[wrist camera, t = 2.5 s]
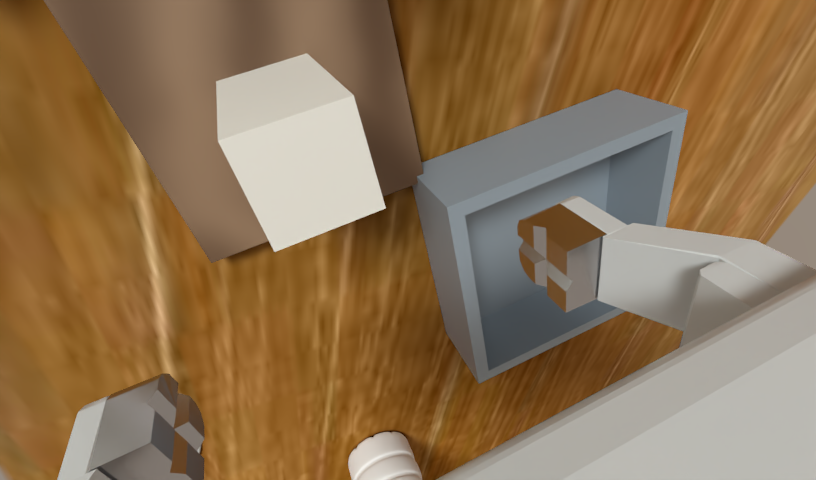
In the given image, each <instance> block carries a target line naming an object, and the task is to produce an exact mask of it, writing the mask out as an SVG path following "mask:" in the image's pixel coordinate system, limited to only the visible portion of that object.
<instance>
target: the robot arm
mask: <svg viewBox="0 0 816 480" xmlns="http://www.w3.org/2000/svg"><path fill="white" fill-rule="evenodd" d="M517 231H518V236H520V237H521V238H522V239H523V242H522V244H521V246H520V248H519V257H520V262H521V264H522V267H523V269H524V271H525V273H526V274H527V276H528V277H529V278H530V279H531V280H532V281H533V282H534V283H535V284H537V285H541V286H545V287H547V296H549V297H550V298H551V299H552V300H553V301H554V302H555V303H556V304H557V305H558V306H559V307H560V308H561V309H562V310H563V311H565V312H566V313H567V312H569V311H571V310H573V309H575V308H578V307H580V306H582V305H584V304H586V303H589V302H591V301H593V300H595V299H597V298H598V301H601V302H603V303H606V304H609V305H612V306H615V307H617V308H620V309H623V310H626V311H628V312H631V313H634V314H637V315H639V316H642V317H645V318H648V319H651V320H653V321H656V322H659V323H662V324H664V325H667V326H670V327H673V328H675V329H678V330H681V331H683V335H682V339H681V343H680V346H679V348H678V349H676V350H674V351H673V352H671V353H669V354H667V355H665V356H663V357H661V358H660V359H658V360H656V361H654V362H652V363H650V364H649V365H647V366H645V367H643V368H641V369H639V370H637V371H636V372H634V373H632V374H630V375H628V376H626V377H624V378H623V379H621V380H619V381H617V382H615V383H613V384H612V385H610V386H608V387H606V388H604V389H602V390H600V391H599V392H597V393H595V394H593V395H591V396H589V397H587V398H586V399H584V400H582V401H580V402H578V403H576V404H575V405H573V406H571V407H569V408H567V409H565V410H563V411H562V412H560V413H558V414H556V415H554V416H552V417H550V418H549V419H547V420H545V421H543V422H541V423H539V424H537V425H536V426H534V427H532V428H530V429H528V430H526V431H525V432H523V433H521V434H519V435H517V436H515V437H513V438H512V439H510V440H508V441H506V442H504V443H502V444H500V445H499V446H497V447H495V448H493V449H491V450H489V451H488V452H486V453H484V454H482V455H480V456H478V457H476V458H475V459H473V460H471V461H469V462H467V463H465V464H464V465H462V466H460V467H458V468H456V469H454V470H452V471H451V472H449V473H447V474H445V475H443V476H441V477H440V478H438V479H436V480H816V270H815V269H813V268H811V267H809V266H807V265H805V264H803V263H801V262H799V261H797V260H795V259H792V258H791V257H789V256H787V255H784V254H782V253H780V252H778V251H776V250H774V249H772V248H770V247H768V246H766V245H764V244H762V243H760V242H758V241H756V240H750V239H743V238H736V237H729V236H722V235H715V234H708V233H701V232H694V231H687V230H680V229H673V228H666V227H659V226H652V225H645V224H638V223H632V224H630V225H626V224H625V223H623V222H621V221H620V220H618V219H616V218H615V217H613V216H611V215H610V214H608V213H606V212H605V211H603V210H601V209H600V208H598V207H596V206H595V205H593V204H591V203H590V202H588V201H586V200H584V199H583V198H581V197H579V196H572V197H570V198H567V199H565V200H563V201H561V202H559V203H556V204H555V205H553V206H551V207H548V208H546V209H544V210H541V211H539V212H537V213H535V214H532V215H530V216H528V217H526V218H523V219H521V220H519V222H518V225H517ZM203 440H204V423H203V419H202V415H201V412H200V410H199V408H198V406H197V405H196V403H195V402H194V401H193V399H192V398H191V397H190V396H187V395H183V394H178V383H177V382H176V381H175V380H174V379H173V378H172V377H171V376H170V374H160V375H158V376H155V377H153V378H150V379H148V380H145V381H143V382H140V383H138V384H136V385H133V386H131V387H128V388H126V389H123V390H121V391H118V392H116V393H113V394H111V395H110V396H107V397H105V398H102V399H100V400H97V401H95V402H92V403H90V404H88V405H85V406H84V407H83V408H82V409H81V410H80V411H79V412H78V414H77V417H76V420H75V423H74V427H73V430H72V433H71V437H70V440H69V443H68V446H67V450H66V453H65V456H64V459H63V463H62V466H61V469H60V473H59V476H58V479H57V480H204V458H203V457H202V456H201V455H200V454H199V453H198V452H197V451H198V449H199V447H200V445H201V444H202V442H203Z"/></svg>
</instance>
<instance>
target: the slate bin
mask: <svg viewBox="0 0 816 480" xmlns="http://www.w3.org/2000/svg"><path fill="white" fill-rule="evenodd" d="M687 113H688V110H685V109H682V108H678V107H675V106H671V105H668V104H665V103H661V102H658V101H655V100H651V99H648V98H645V97H641V96H638V95H635V94H631V93H628V92H625V91H621V90H618V89H616V90H613V91H611V92H608V93H605V94H603V95H600V96H597V97H595V98H592V99H590V100H587V101H584V102H582V103H579V104H576V105H574V106H571V107H568V108H566V109H563V110H560V111H558V112H555V113H552V114H550V115H547V116H544V117H542V118H539V119H537V120H534V121H531V122H529V123H526V124H523V125H521V126H518V127H515V128H513V129H510V130H507V131H505V132H502V133H499V134H497V135H494V136H491V137H489V138H486V139H483V140H481V141H478V142H476V143H473V144H470V145H468V146H465V147H462V148H460V149H457V150H454V151H452V152H449V153H446V154H444V155H441V156H438V157H436V158H433V159H430V160H428V161H425V162H423V163H421V164H422V168H423V173H424V174H422V175H419V176H417V181H418V183H417V184H415V185H412V187H413V191H414V195H415V200H416V204H417V208H418V213H419V217H420V221H421V226H422V230H423V234H424V239H425V243H426V247H427V252H428V256H429V260H430V264H431V269H432V273H433V277H434V282H435V286H436V290H437V295H438V299H439V303H440V308H441V312H442V316H443V321H444V325H445V329H446V333H447V335H448V336H449V338H450V339H451V341H452V343H453V344H454V346H455V347H456V349H457V350H458V352H459V354H460V355H461V357H462V358H463V360H464V361H465V363H466V364H467V366H468V368H469V369H470V371H471V372H472V374H473V375H474V377H475V379H476V380H477V382H478V383H482V382H484V381H486V380H488V379H490V378H492V377H494V376H496V375H498V374H500V373H502V372H504V371H506V370H508V369H510V368H512V367H514V366H516V365H518V364H520V363H522V362H524V361H526V360H528V359H530V358H532V357H534V356H536V355H538V354H540V353H542V352H544V351H546V350H548V349H550V348H552V347H554V346H557V345H559V344H561V343H563V342H565V341H567V340H569V339H571V338H573V337H575V336H577V335H579V334H581V333H583V332H585V331H587V330H589V329H591V328H593V327H595V326H597V325H599V324H601V323H603V322H605V321H607V320H609V319H611V318H613V317H615V316H617V315H619V314H621V313H623V312H625V311H626V310H623V309H620V308H617V307H615V306H612V305H609V304H606V303H603V302H601V301H598V298H597V299H595V300H593V301H591V302H589V303H586V304H584V305H582V306H580V307H578V308H575V309H573V310H571V311H569V312H567V313H566V312H565V311H563V310H562V309H561V308H560V307H559V306H558V305H557V304H556V303H555V302H554V301H553V300H552V299H551V298H550V297H549V296H547V287H545V286H541V285H537V284H535V283H534V282H533V281H532V280H531V279H530V278H529V277H528V276H527V274H526V273H525V271H524V269H523V267H522V264H521V262H520V257H519V248H520V246H521V244H522V242H523V239H522V238H521V237H520V236H518V231H517V225H518V222H519V220H521V219H523V218H526V217H528V216H530V215H532V214H535V213H537V212H539V211H541V210H544V209H546V208H548V207H551V206H553V205H555V204H556V203H559V202H561V201H563V200H565V199H567V198H570V197H572V196H579V197H581V198H583V199H584V200H586V201H588V202H590V203H591V204H593V205H595V206H596V207H598V208H600V209H601V210H603V211H605V212H606V213H608V214H610V215H611V216H613V217H615V218H616V219H618V220H620V221H621V222H623V223H625V224H626V225H630V224H632V223H638V224H645V225H652V226H659V227H665V226H666V221H667V216H668V211H669V205H670V200H671V195H672V190H673V185H674V180H675V175H676V169H677V164H678V159H679V154H680V149H681V144H682V139H683V133H684V128H685V123H686V118H687Z"/></svg>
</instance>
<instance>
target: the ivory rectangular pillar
mask: <svg viewBox="0 0 816 480" xmlns="http://www.w3.org/2000/svg"><path fill="white" fill-rule="evenodd" d="M216 95H217V134H218V142H219V144H220V146H221V148H222V150H223V152H224V154H225V156H226V158H227V160H228V162H229V164H230V166H231V168H232V170H233V172H234V174H235V176H236V178H237V180H238V182H239V183H240V185H241V187H242V189H243V191H244V193H245V195H246V197H247V199H248V201H249V203H250V205H251V207H252V209H253V211H254V213H255V215H256V217H257V219H258V221H259V223H260V225H261V227H262V228H263V230H264V232H265V234H266V236H267V238H268V240H269V242H270V244H271V246H272V248H273V250H274V252H276V251H278V250H281V249H284V248H286V247H289V246H291V245H294V244H296V243H299V242H301V241H304V240H306V239H309V238H312V237H314V236H317V235H319V234H322V233H324V232H327V231H329V230H332V229H335V228H337V227H340V226H342V225H345V224H347V223H350V222H352V221H355V220H358V219H360V218H363V217H365V216H368V215H370V214H373V213H375V212H378V211H380V210H383V209H386V207H385V203H384V200H383V196H382V193H381V189H380V186H379V182H378V179H377V175H376V172H375V168H374V165H373V161H372V158H371V154H370V151H369V147H368V144H367V140H366V137H365V133H364V130H363V126H362V123H361V119H360V116H359V112H358V109H357V105H356V102H355V98H354V95H353V94H352V93H351V92H350V91H348V90H347V89H346V88H345V87H344V86H343V85H342V84H341V83H340V82H338V81H337V80H336V79H335V78H334V77H333V76H332V75H331V74H330V73H328V72H327V71H326V70H325V69H324V68H323V67H322V66H321V65H320V64H318V63H317V62H316V61H315V60H314V59H313V58H312V57H311V56H310V55H308V54H307V53H306V54H303V55H300V56H296V57H293V58H290V59H287V60H284V61H280V62H277V63H274V64H271V65H267V66H264V67H261V68H258V69H254V70H251V71H248V72H245V73H242V74H238V75H235V76H232V77H229V78H225V79H222V80H219V81H216Z"/></svg>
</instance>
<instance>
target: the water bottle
mask: <svg viewBox="0 0 816 480" xmlns="http://www.w3.org/2000/svg"><path fill="white" fill-rule="evenodd" d="M348 467H349V471H350V475H351V479H352V480H422V475H421V472H420V469H419V467H418V464H417V463H416V461H415V459H414V454H413V452H412V450H411V448H410V445H409V443H408V440H407V439H406V437H405V436H404V435H403V434H401V433H399V432H394V431H393V432H391V433H390V432H382V433H378V434H376V435H374V437H369V438H367V439H365V440H364V441H362V442H361V443H360V444H359V445H358V446H357V448H355V449H354V450H353V451H352V452H351V454H350V456H349V460H348Z"/></svg>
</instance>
